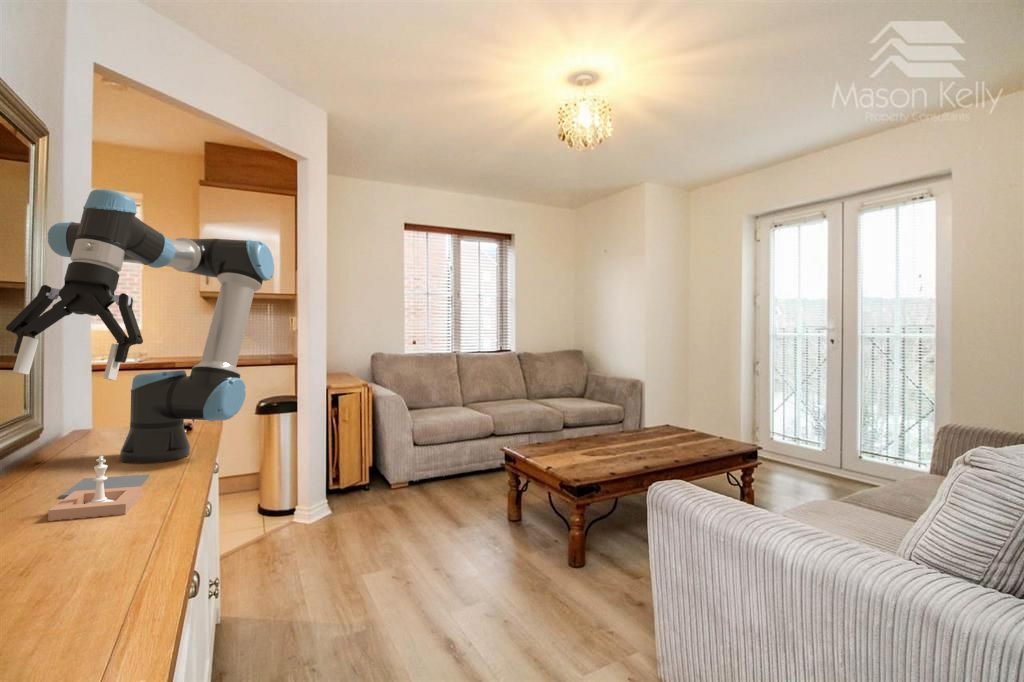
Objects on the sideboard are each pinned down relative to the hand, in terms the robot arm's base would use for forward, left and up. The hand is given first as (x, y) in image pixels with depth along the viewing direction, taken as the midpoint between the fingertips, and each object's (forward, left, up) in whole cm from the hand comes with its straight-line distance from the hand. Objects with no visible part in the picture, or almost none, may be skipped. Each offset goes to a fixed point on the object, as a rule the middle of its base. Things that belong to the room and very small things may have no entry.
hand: (66, 376), depth 86 cm
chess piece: (-4, +4, -26) cm, 27 cm away
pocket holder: (-4, +5, -26) cm, 26 cm away
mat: (-18, +2, -26) cm, 31 cm away
